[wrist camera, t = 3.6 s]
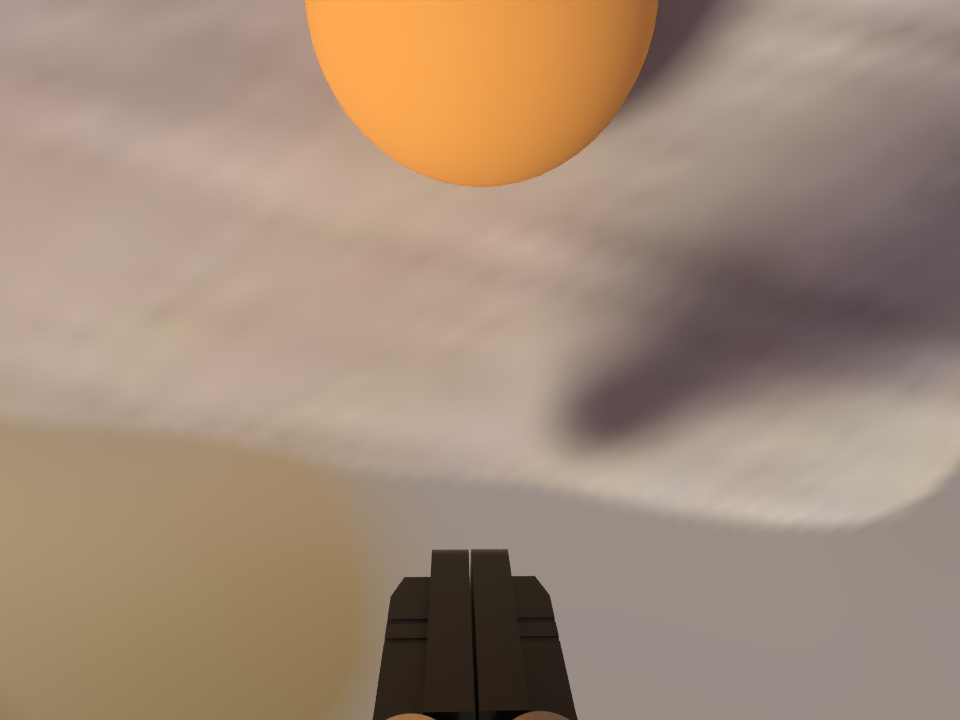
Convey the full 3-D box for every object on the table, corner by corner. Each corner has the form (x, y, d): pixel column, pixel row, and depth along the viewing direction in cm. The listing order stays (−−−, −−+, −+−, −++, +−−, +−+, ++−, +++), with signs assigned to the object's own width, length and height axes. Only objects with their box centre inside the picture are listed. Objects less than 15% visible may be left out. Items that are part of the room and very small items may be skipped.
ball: (332, -129, 11) (221, -393, 6) (621, -115, 11) (768, -353, 6) (347, 177, 13) (274, 192, 7) (594, 183, 13) (690, 202, 8)
